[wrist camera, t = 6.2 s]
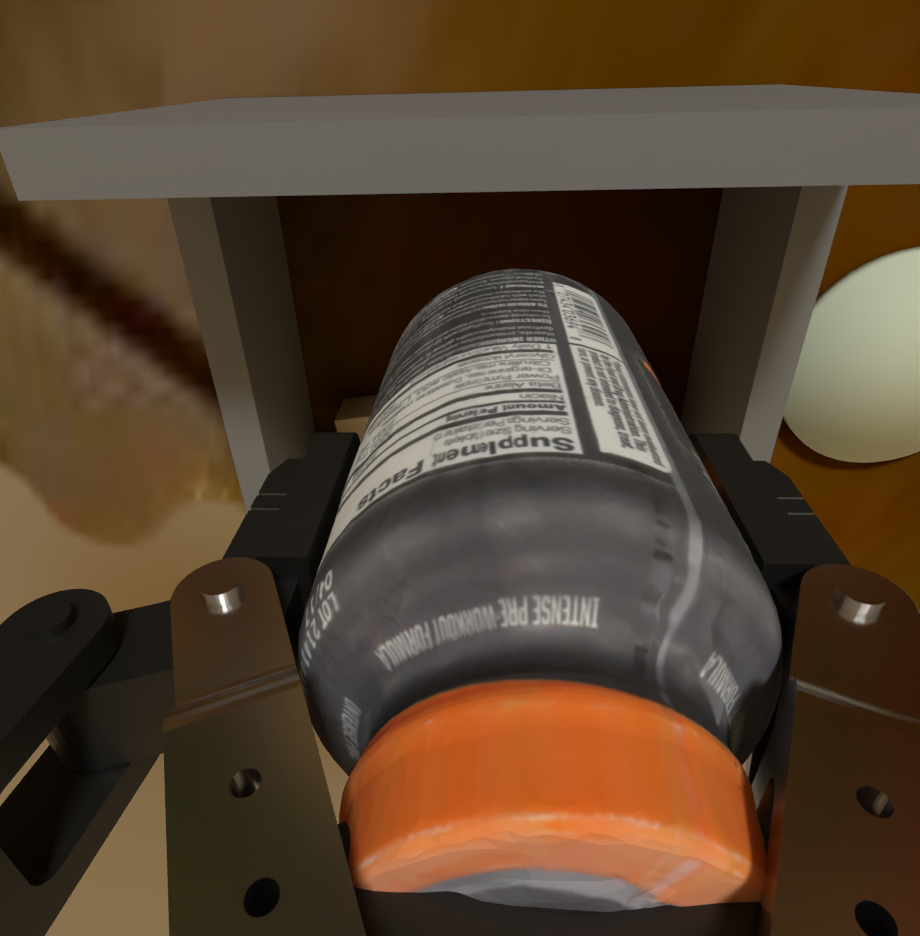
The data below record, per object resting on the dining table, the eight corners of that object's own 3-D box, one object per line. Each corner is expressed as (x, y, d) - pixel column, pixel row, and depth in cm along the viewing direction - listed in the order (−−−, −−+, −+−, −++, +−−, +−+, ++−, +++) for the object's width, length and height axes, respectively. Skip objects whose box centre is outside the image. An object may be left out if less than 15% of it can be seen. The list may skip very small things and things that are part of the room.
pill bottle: (613, 504, 16) (775, 1108, 7) (386, 484, 16) (239, 1061, 7) (672, 274, 13) (1126, 816, 4) (390, 249, 13) (124, 727, 4)
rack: (779, 84, 21) (1062, 103, 11) (688, 515, 30) (790, 743, 20) (225, 98, 21) (-8, 128, 11) (304, 514, 31) (216, 734, 21)
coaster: (1061, 243, 23) (1074, 247, 22) (961, 455, 28) (970, 462, 27) (808, 247, 23) (815, 251, 23) (753, 455, 28) (758, 462, 28)
